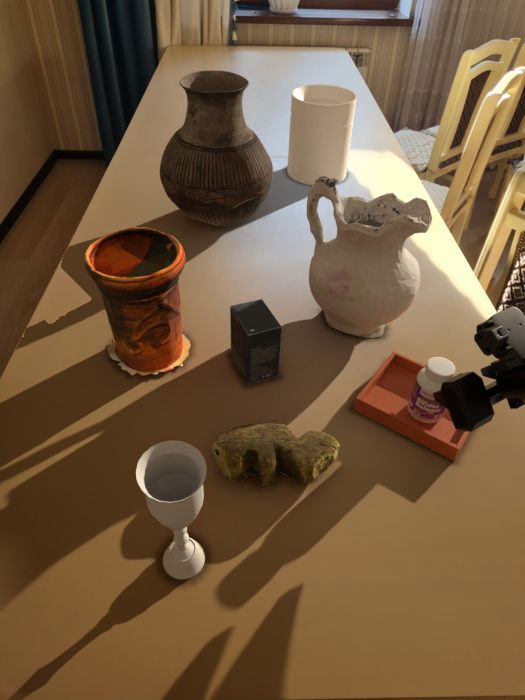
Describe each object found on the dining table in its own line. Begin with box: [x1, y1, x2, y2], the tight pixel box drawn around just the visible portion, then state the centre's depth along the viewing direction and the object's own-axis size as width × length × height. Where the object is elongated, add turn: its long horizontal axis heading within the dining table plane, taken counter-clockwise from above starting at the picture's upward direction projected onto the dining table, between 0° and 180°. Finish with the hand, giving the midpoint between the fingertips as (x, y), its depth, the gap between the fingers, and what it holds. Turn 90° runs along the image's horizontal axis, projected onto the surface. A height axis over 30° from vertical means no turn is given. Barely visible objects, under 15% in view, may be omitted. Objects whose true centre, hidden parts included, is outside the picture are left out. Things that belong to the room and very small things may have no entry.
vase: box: [159, 70, 274, 227], centre depth 116 cm, size 25×25×30 cm
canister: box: [286, 83, 358, 186], centre depth 139 cm, size 16×16×20 cm
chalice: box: [135, 439, 208, 580], centre depth 59 cm, size 7×7×18 cm
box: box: [229, 298, 283, 385], centre depth 86 cm, size 8×6×11 cm
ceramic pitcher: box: [306, 176, 433, 339], centre depth 92 cm, size 22×20×25 cm
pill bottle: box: [408, 356, 456, 423], centre depth 79 cm, size 5×5×10 cm
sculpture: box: [211, 422, 341, 486], centre depth 74 cm, size 18×5×10 cm
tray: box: [353, 350, 471, 462], centre depth 83 cm, size 16×13×3 cm
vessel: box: [83, 226, 192, 377], centre depth 85 cm, size 14×14×20 cm
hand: (458, 383), depth 74 cm, fingers open, 9 cm apart
